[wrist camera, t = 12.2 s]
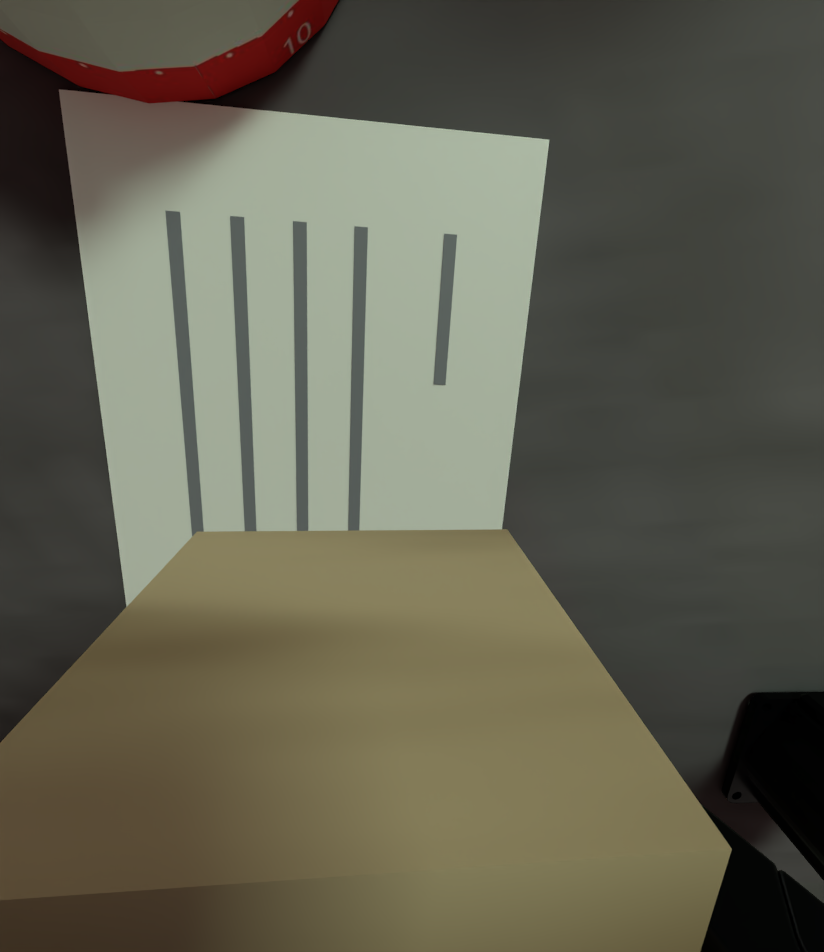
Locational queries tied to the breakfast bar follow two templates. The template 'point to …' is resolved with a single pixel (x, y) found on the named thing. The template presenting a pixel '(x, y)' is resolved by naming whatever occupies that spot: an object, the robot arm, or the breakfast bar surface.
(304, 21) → the kitchen timer
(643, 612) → the breakfast bar surface
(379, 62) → the breakfast bar surface
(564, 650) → the block
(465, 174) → the letter
